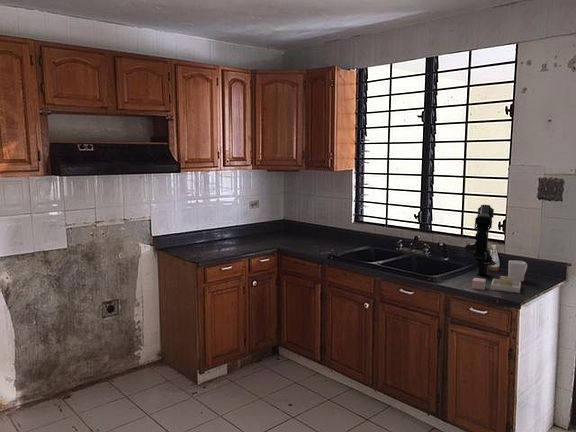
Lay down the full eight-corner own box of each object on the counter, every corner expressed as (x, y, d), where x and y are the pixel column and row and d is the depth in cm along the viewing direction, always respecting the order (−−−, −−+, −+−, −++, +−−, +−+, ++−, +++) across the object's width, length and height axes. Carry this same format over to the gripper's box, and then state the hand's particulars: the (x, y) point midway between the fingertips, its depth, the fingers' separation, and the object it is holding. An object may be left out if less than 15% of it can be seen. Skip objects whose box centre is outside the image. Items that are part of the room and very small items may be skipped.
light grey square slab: (492, 282, 266) (493, 278, 266) (520, 286, 260) (520, 281, 259) (490, 289, 254) (490, 284, 253) (519, 293, 247) (520, 288, 247)
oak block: (500, 284, 261) (500, 275, 260) (512, 286, 258) (512, 277, 257) (499, 287, 255) (499, 278, 255) (511, 289, 253) (512, 280, 252)
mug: (514, 282, 267) (515, 264, 266) (504, 278, 276) (505, 260, 275) (531, 281, 270) (532, 263, 268) (520, 277, 278) (522, 259, 277)
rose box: (473, 285, 261) (473, 277, 261) (485, 287, 259) (485, 279, 258) (472, 288, 256) (472, 280, 255) (484, 290, 253) (484, 281, 253)
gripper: (468, 235, 265) (466, 262, 268) (463, 240, 249) (462, 269, 251) (489, 236, 260) (487, 264, 263) (486, 242, 244) (484, 272, 246)
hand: (480, 267), depth 256 cm, fingers open, 9 cm apart
